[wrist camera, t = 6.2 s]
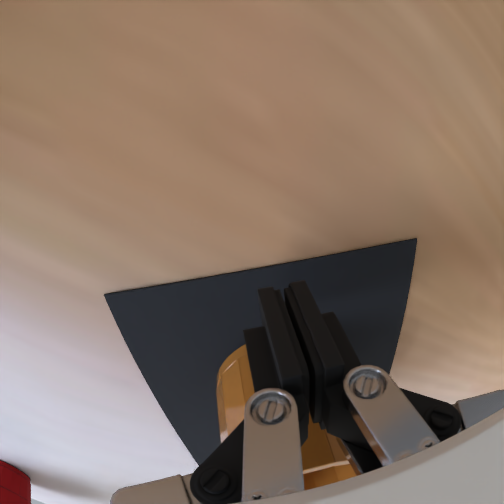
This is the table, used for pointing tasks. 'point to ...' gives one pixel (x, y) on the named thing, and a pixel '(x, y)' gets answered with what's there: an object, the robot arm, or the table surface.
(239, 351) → the orange brown cup
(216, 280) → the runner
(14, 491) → the plastic cup
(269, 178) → the table surface
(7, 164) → the table surface
